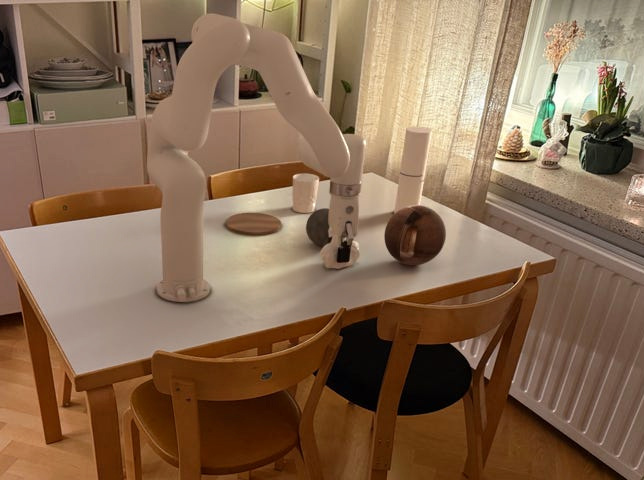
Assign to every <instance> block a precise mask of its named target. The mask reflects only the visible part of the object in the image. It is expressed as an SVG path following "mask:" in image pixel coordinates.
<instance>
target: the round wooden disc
mask: <svg viewBox="0 0 644 480" xmlns="http://www.w3.org/2000/svg"><path fill="white" fill-rule="evenodd" d="M225 228H226V229H227V230H228V231H230V232H232V233H235V234H239V235H243V236H255V237H256V236H267V235H271V234H274V233H277V232H278V231H279V230H281V228H282V221H281V219H279V218H278V217H277V216H274V215H272V214H268V213H264V212H241V213H240V212H239V213H236V214H233V215H230V216H229V217H227V219H226V220H225Z"/></svg>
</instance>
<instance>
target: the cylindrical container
mask: <svg viewBox="0 0 644 480" xmlns="http://www.w3.org/2000/svg"><path fill="white" fill-rule="evenodd" d="M405 129H406V130H405V135H404V143H403V149H402V155H401V162H400V164H401V165H400V169H399V170H400V171H399V177H398V183H397V190H396V198H395V205H394V211H393V215H394V214H395V213H396V212H397V211H399V210H401V209H402V208H405V207H408V206H412V205H421V200H422V194H423V189H424V183H425V177H426V169H427V164H428V158H429V151H430V145H431V140H432V139H431V138H432V134H433V130H432V129H431V128H429V127H424V126H407V127H406V128H405Z"/></svg>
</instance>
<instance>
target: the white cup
mask: <svg viewBox="0 0 644 480" xmlns="http://www.w3.org/2000/svg"><path fill="white" fill-rule="evenodd" d="M319 182H320V177H319V176H318V175H317V174H314V173H313V174H312V173H296V174H294V175H292V194H291V195H292V210H293V211H294V212H296V213H299V214H300V213H301V214H309V213H313V212H315V209H316V202H317V198H318V189H319Z"/></svg>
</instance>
